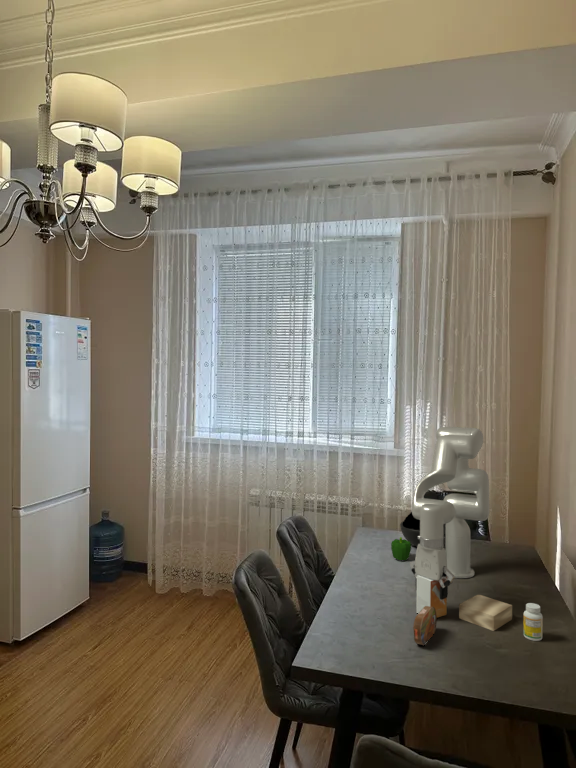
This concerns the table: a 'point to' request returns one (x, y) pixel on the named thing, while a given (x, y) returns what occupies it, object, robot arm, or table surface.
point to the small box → (430, 596)
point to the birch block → (485, 612)
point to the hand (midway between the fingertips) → (431, 593)
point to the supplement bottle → (532, 622)
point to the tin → (425, 625)
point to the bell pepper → (401, 549)
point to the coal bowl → (412, 529)
